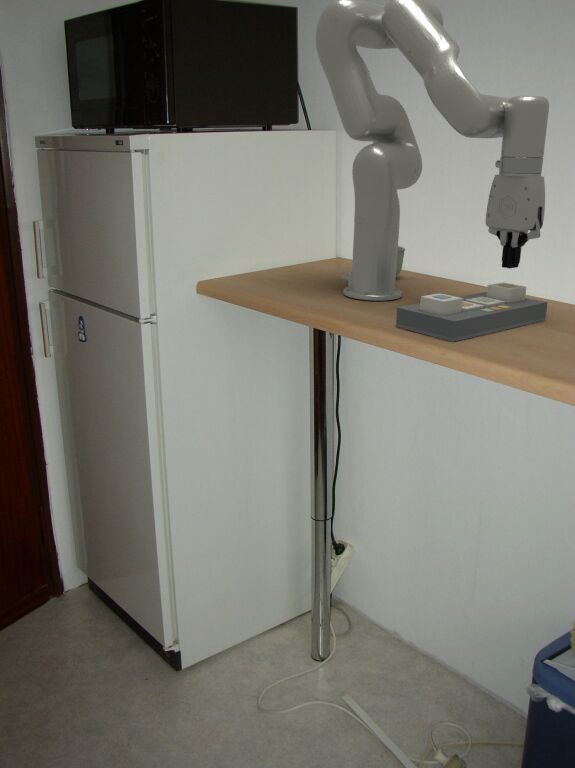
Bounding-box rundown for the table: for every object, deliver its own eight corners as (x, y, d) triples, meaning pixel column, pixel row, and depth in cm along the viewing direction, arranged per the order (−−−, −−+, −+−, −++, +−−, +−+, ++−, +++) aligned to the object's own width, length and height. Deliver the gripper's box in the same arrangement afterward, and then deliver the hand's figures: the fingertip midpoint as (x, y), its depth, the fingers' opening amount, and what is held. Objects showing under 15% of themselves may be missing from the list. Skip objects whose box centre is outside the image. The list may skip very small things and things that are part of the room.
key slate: (419, 312, 136) (420, 295, 135) (438, 309, 140) (439, 292, 139) (442, 318, 133) (444, 300, 132) (461, 314, 136) (462, 297, 135)
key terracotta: (441, 319, 141) (443, 302, 140) (459, 316, 144) (461, 299, 143) (464, 325, 137) (466, 308, 136) (482, 321, 140) (484, 304, 139)
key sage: (464, 315, 145) (465, 298, 144) (480, 311, 148) (482, 295, 147) (486, 320, 141) (488, 303, 140) (503, 316, 144) (505, 300, 143)
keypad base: (395, 326, 139) (397, 306, 138) (489, 308, 156) (491, 289, 155) (452, 342, 130) (454, 320, 129) (545, 320, 147) (547, 301, 146)
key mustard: (486, 300, 148) (487, 284, 147) (502, 297, 152) (503, 281, 151) (508, 305, 145) (510, 288, 144) (524, 302, 148) (526, 286, 147)
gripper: (474, 166, 143) (466, 263, 149) (545, 169, 132) (532, 274, 138) (498, 166, 148) (489, 260, 154) (568, 169, 137) (555, 271, 143)
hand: (510, 267), depth 146 cm, fingers closed
